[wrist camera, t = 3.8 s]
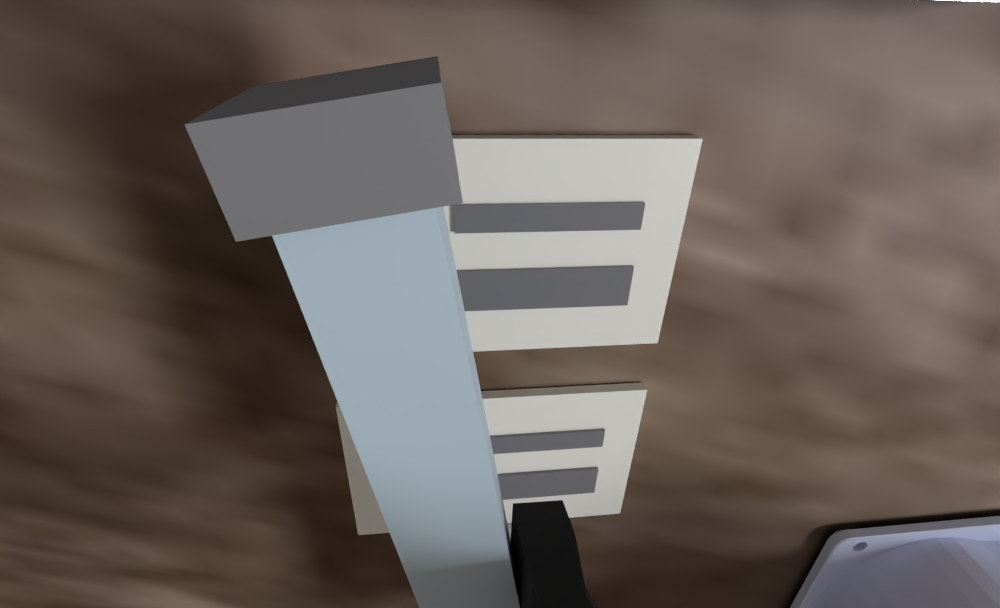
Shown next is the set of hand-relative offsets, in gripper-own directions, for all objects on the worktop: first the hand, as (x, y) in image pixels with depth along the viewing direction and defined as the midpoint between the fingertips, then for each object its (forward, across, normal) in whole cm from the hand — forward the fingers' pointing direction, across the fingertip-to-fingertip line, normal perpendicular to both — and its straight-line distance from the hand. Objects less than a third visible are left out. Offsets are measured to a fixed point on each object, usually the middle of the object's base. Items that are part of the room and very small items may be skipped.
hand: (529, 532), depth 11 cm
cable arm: (+3, +2, -1) cm, 3 cm away
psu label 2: (+4, 0, +2) cm, 4 cm away
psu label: (+4, 0, -5) cm, 6 cm away
